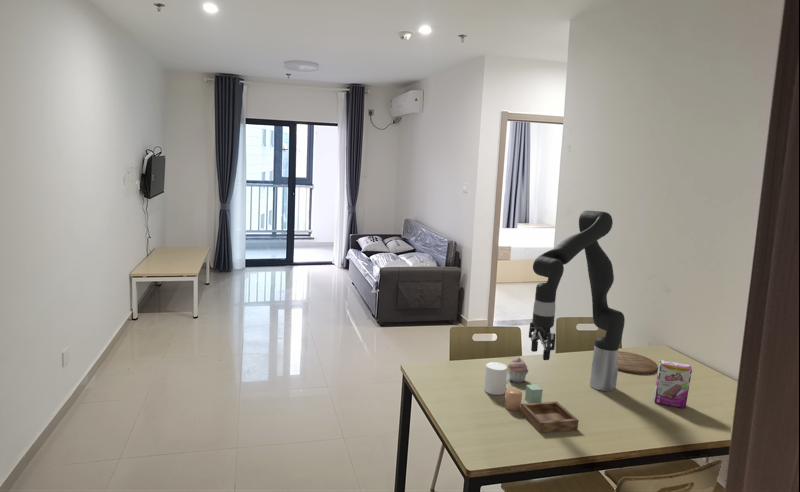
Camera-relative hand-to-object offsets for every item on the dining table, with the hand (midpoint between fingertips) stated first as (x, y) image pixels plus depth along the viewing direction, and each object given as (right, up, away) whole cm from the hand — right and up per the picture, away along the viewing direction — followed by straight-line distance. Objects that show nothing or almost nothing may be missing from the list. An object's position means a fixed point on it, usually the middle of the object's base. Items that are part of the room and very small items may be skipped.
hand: (539, 355), depth 198 cm
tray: (+2, -22, -5) cm, 23 cm away
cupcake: (-2, -16, +30) cm, 34 cm away
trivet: (+55, -16, +56) cm, 80 cm away
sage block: (0, -20, +10) cm, 22 cm away
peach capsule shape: (-9, -20, +5) cm, 23 cm away
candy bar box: (+54, -22, +15) cm, 61 cm away
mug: (-12, -18, +19) cm, 29 cm away
